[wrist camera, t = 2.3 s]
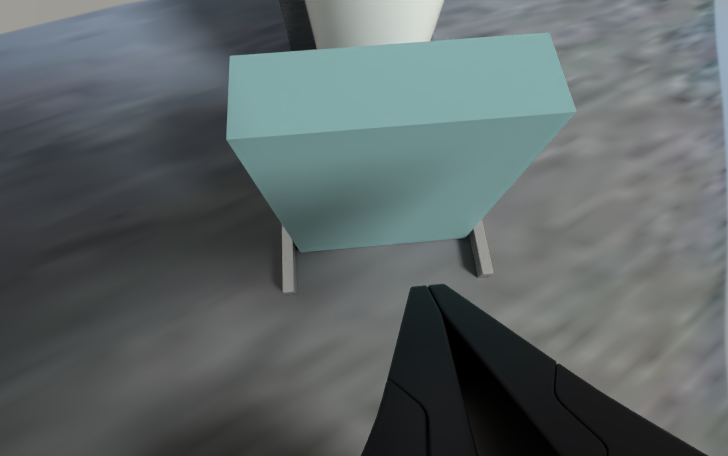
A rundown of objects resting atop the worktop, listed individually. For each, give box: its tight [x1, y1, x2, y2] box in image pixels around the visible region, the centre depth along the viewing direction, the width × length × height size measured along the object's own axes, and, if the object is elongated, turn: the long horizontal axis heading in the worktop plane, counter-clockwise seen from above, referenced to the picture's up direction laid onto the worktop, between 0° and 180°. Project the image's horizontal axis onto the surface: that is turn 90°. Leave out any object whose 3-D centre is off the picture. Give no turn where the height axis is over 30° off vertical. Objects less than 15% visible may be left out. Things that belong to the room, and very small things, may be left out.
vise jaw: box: [226, 33, 576, 252], centre depth 16 cm, size 3×10×12 cm, turn 95°
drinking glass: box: [305, 0, 445, 50], centre depth 17 cm, size 7×7×15 cm
